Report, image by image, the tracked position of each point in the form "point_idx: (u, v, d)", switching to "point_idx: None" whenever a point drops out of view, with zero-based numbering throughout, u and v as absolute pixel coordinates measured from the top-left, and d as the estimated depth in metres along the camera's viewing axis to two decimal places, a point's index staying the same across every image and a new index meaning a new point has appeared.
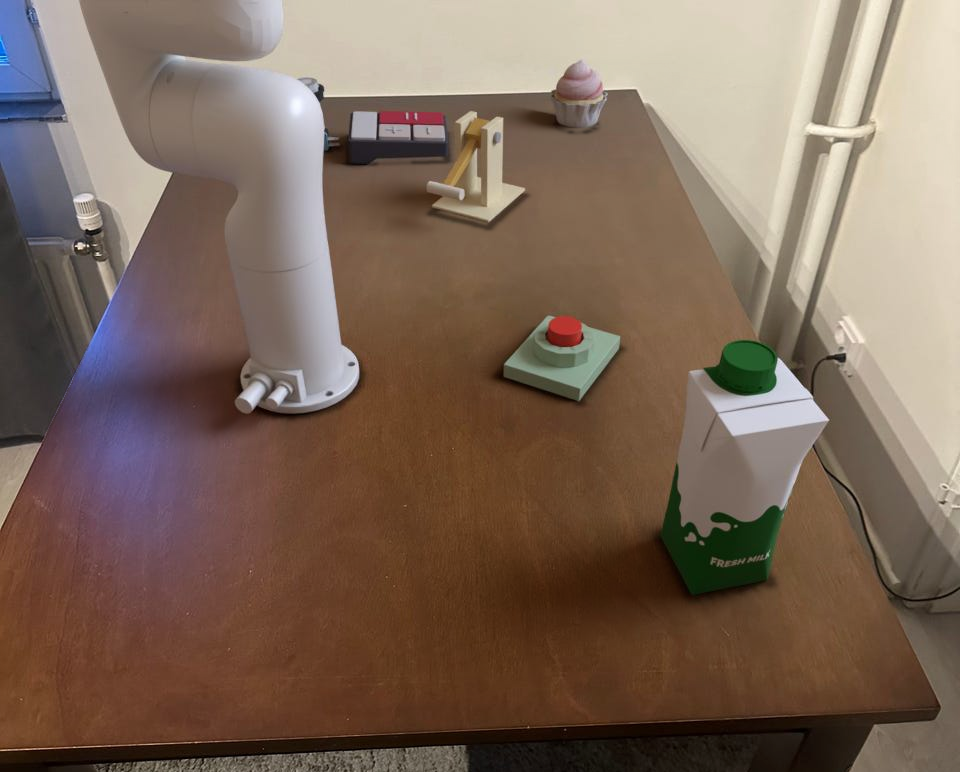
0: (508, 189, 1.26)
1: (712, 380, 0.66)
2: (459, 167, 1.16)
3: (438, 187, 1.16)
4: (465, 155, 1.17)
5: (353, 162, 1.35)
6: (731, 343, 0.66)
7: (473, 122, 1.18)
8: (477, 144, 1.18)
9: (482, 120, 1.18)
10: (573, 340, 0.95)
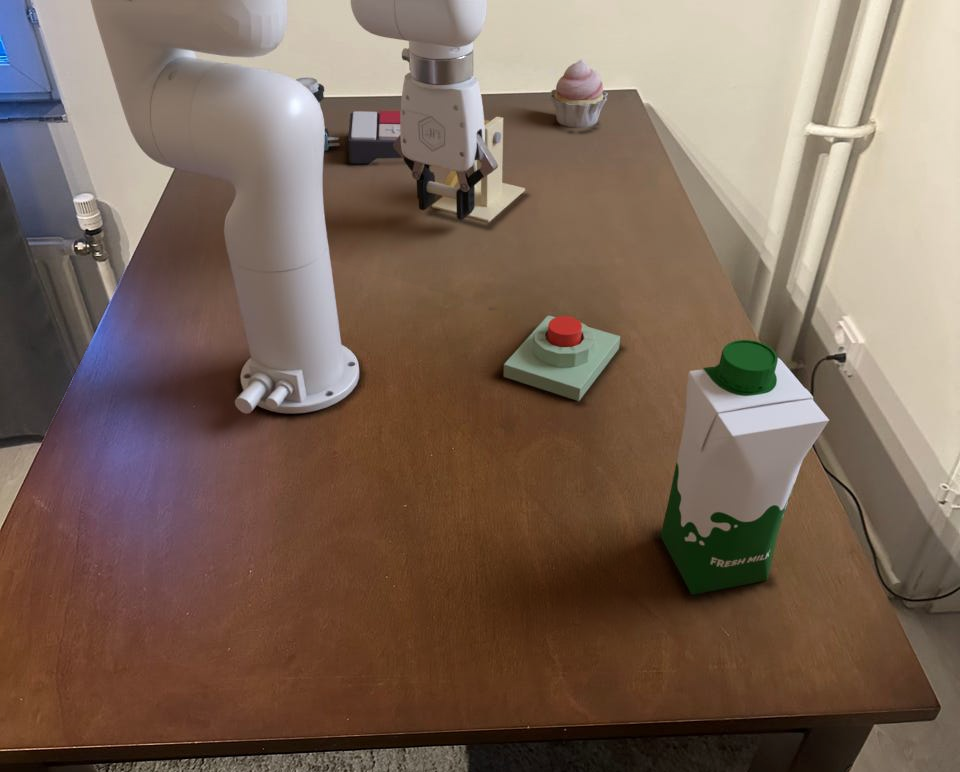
0: (508, 189, 1.26)
1: (713, 380, 0.66)
2: None
3: (438, 187, 1.16)
4: None
5: (353, 162, 1.35)
6: (731, 343, 0.66)
7: None
8: None
9: None
10: (573, 340, 0.95)
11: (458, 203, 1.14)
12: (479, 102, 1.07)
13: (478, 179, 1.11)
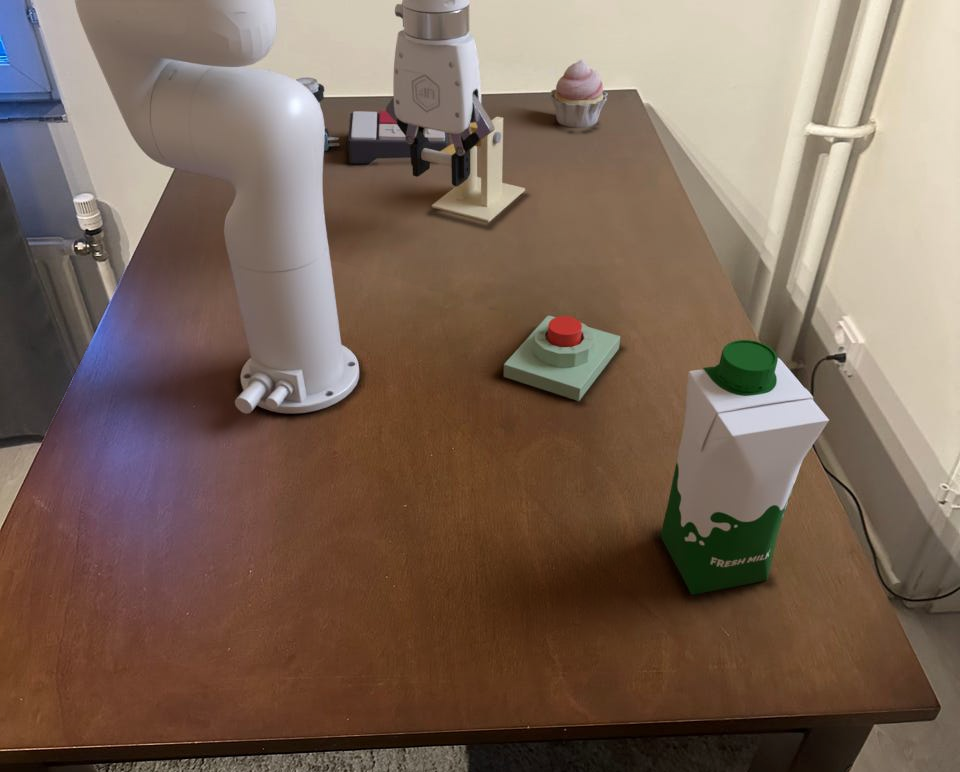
0: (508, 189, 1.26)
1: (712, 380, 0.66)
2: None
3: (434, 151, 1.12)
4: None
5: (353, 162, 1.35)
6: (731, 343, 0.66)
7: None
8: None
9: None
10: (573, 340, 0.95)
11: (453, 168, 1.10)
12: (475, 60, 1.02)
13: (474, 142, 1.07)
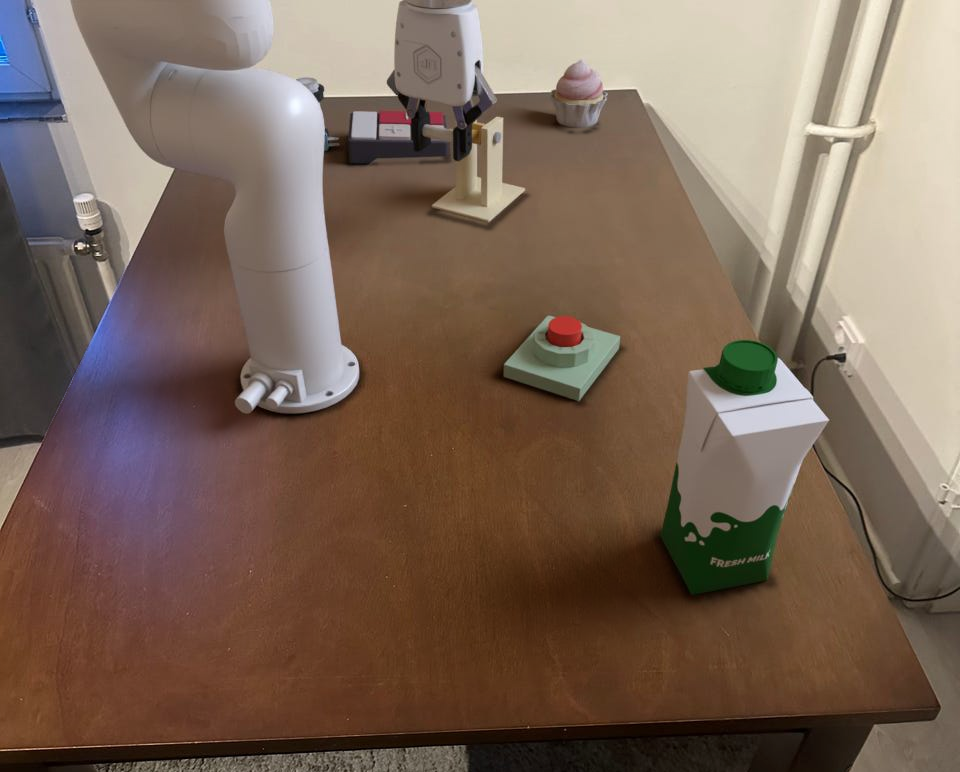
0: (508, 189, 1.26)
1: (713, 380, 0.66)
2: None
3: (436, 127, 1.10)
4: None
5: (353, 162, 1.35)
6: (731, 343, 0.66)
7: (476, 122, 1.19)
8: (476, 136, 1.17)
9: (485, 124, 1.19)
10: (573, 340, 0.95)
11: (455, 142, 1.08)
12: (478, 30, 1.01)
13: (476, 115, 1.06)
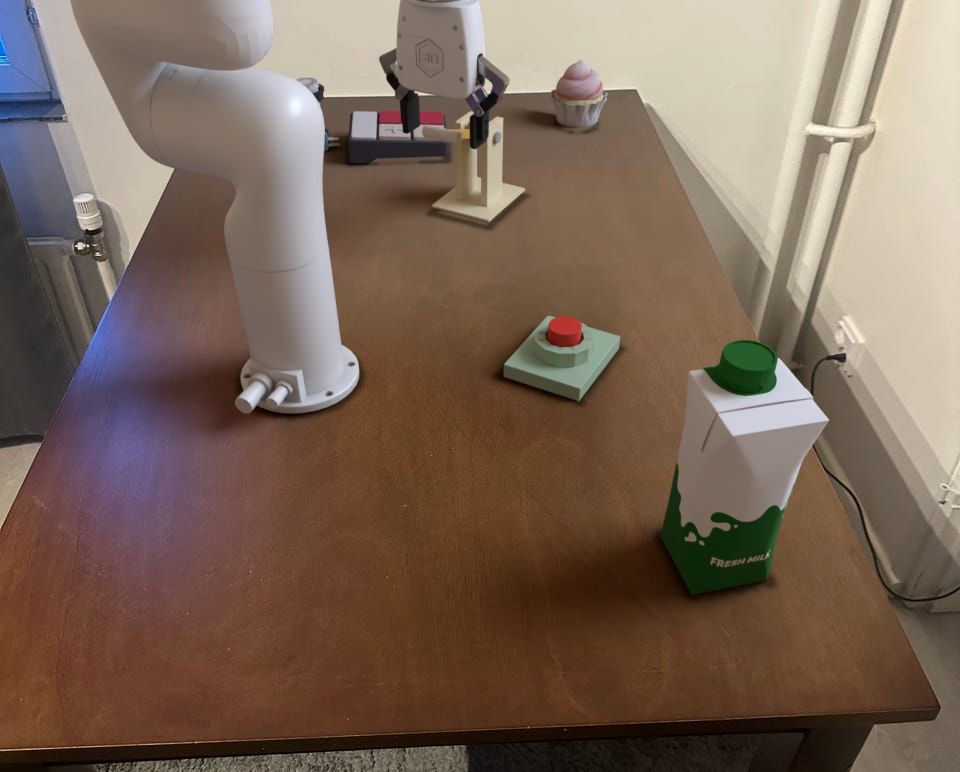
0: (508, 189, 1.26)
1: (713, 380, 0.66)
2: (459, 130, 1.13)
3: (436, 127, 1.10)
4: (465, 130, 1.15)
5: (353, 162, 1.35)
6: (731, 343, 0.66)
7: None
8: None
9: None
10: (573, 340, 0.95)
11: (471, 130, 1.07)
12: (480, 23, 1.01)
13: (493, 102, 1.04)
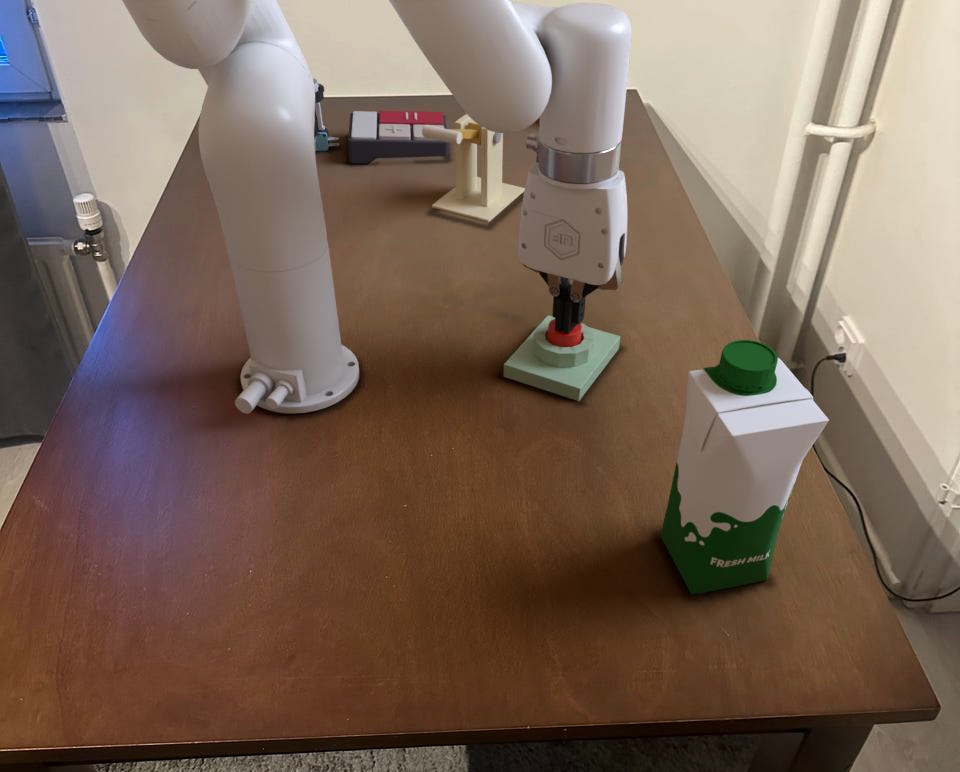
0: (508, 189, 1.26)
1: (713, 380, 0.66)
2: (459, 130, 1.13)
3: (436, 127, 1.10)
4: (465, 130, 1.15)
5: (353, 162, 1.35)
6: (731, 343, 0.66)
7: None
8: (476, 136, 1.17)
9: None
10: (573, 341, 0.95)
11: (566, 315, 0.92)
12: (625, 201, 0.84)
13: (594, 288, 0.90)
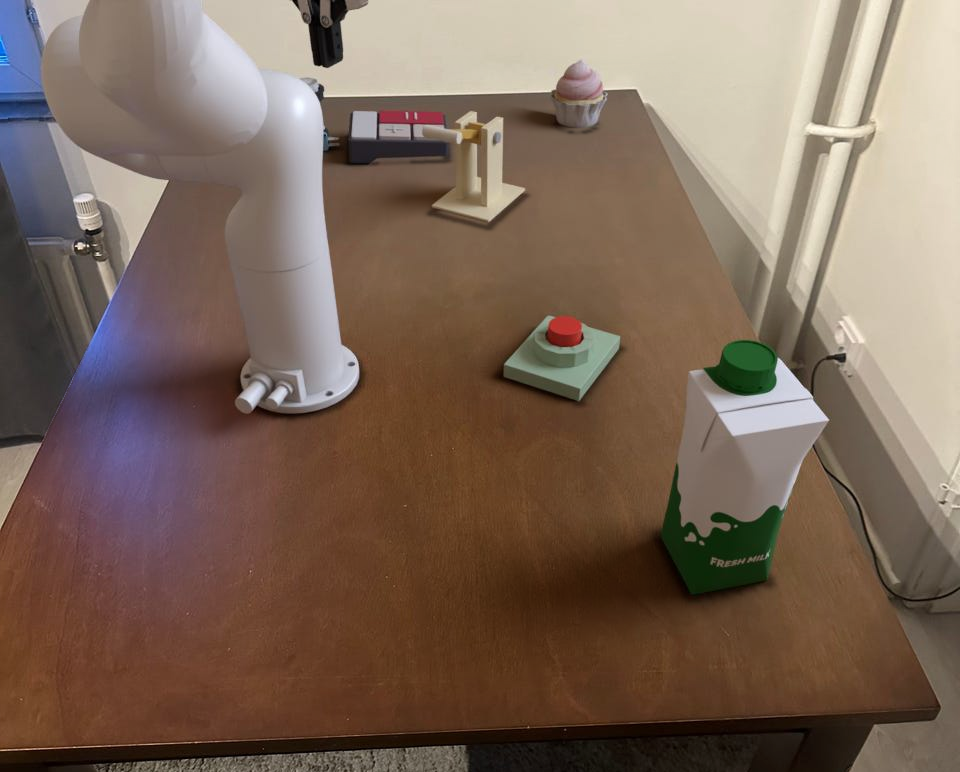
0: (508, 189, 1.26)
1: (712, 380, 0.66)
2: (459, 130, 1.13)
3: (436, 127, 1.10)
4: (465, 130, 1.15)
5: (353, 162, 1.35)
6: (731, 343, 0.66)
7: (476, 122, 1.19)
8: (476, 136, 1.17)
9: (485, 124, 1.19)
10: (573, 340, 0.95)
11: (320, 44, 0.92)
12: None
13: (341, 9, 0.89)
